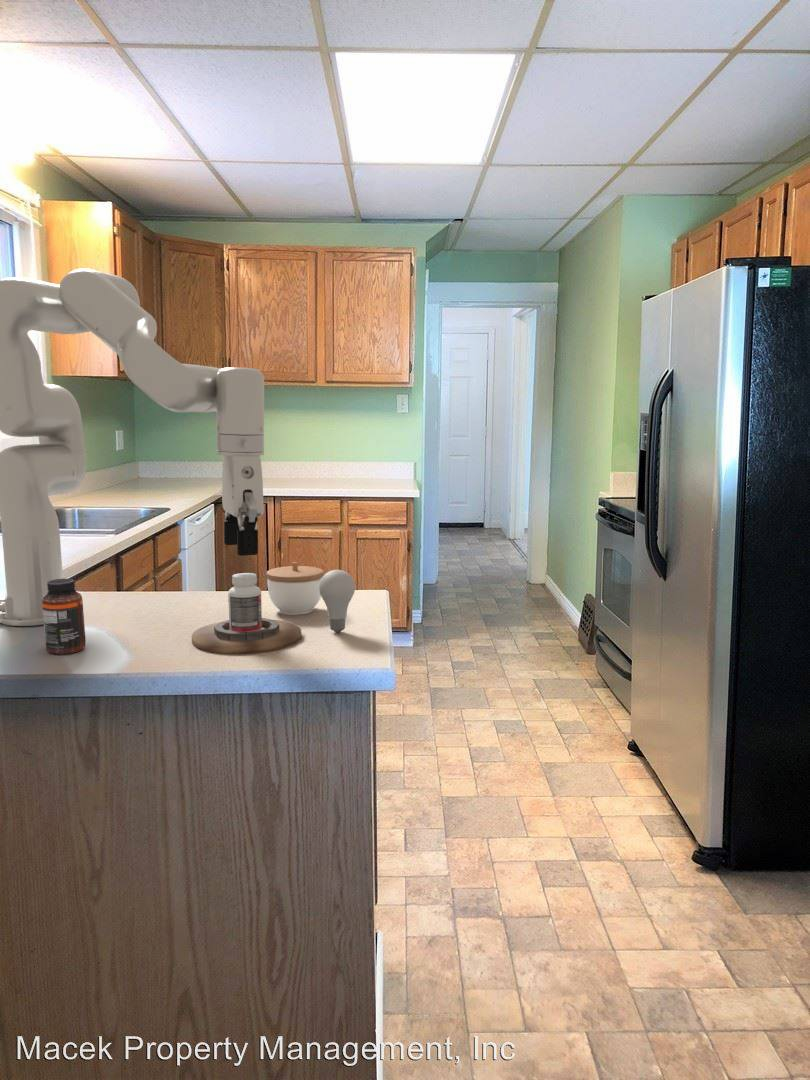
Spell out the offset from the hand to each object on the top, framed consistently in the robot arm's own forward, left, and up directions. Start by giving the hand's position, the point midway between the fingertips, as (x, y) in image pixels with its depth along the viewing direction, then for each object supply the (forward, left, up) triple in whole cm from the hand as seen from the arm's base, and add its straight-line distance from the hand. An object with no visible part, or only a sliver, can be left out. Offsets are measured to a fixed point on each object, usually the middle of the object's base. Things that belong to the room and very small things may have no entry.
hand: (240, 549), depth 137 cm
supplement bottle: (-27, +4, -15) cm, 32 cm away
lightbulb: (+16, -4, -15) cm, 22 cm away
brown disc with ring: (+1, -1, -15) cm, 15 cm away
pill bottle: (0, 0, -14) cm, 14 cm away
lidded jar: (+14, +15, -15) cm, 25 cm away
